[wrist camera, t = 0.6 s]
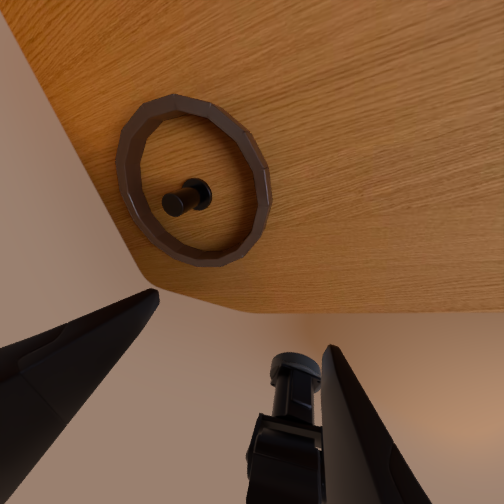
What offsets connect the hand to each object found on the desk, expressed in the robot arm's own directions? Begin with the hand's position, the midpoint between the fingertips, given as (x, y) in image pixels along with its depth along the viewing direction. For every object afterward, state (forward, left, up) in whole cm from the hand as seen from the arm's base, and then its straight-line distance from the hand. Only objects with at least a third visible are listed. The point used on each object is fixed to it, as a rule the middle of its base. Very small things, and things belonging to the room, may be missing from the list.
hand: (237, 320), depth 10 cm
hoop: (+1, +9, -12) cm, 15 cm away
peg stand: (+1, +9, -12) cm, 15 cm away
